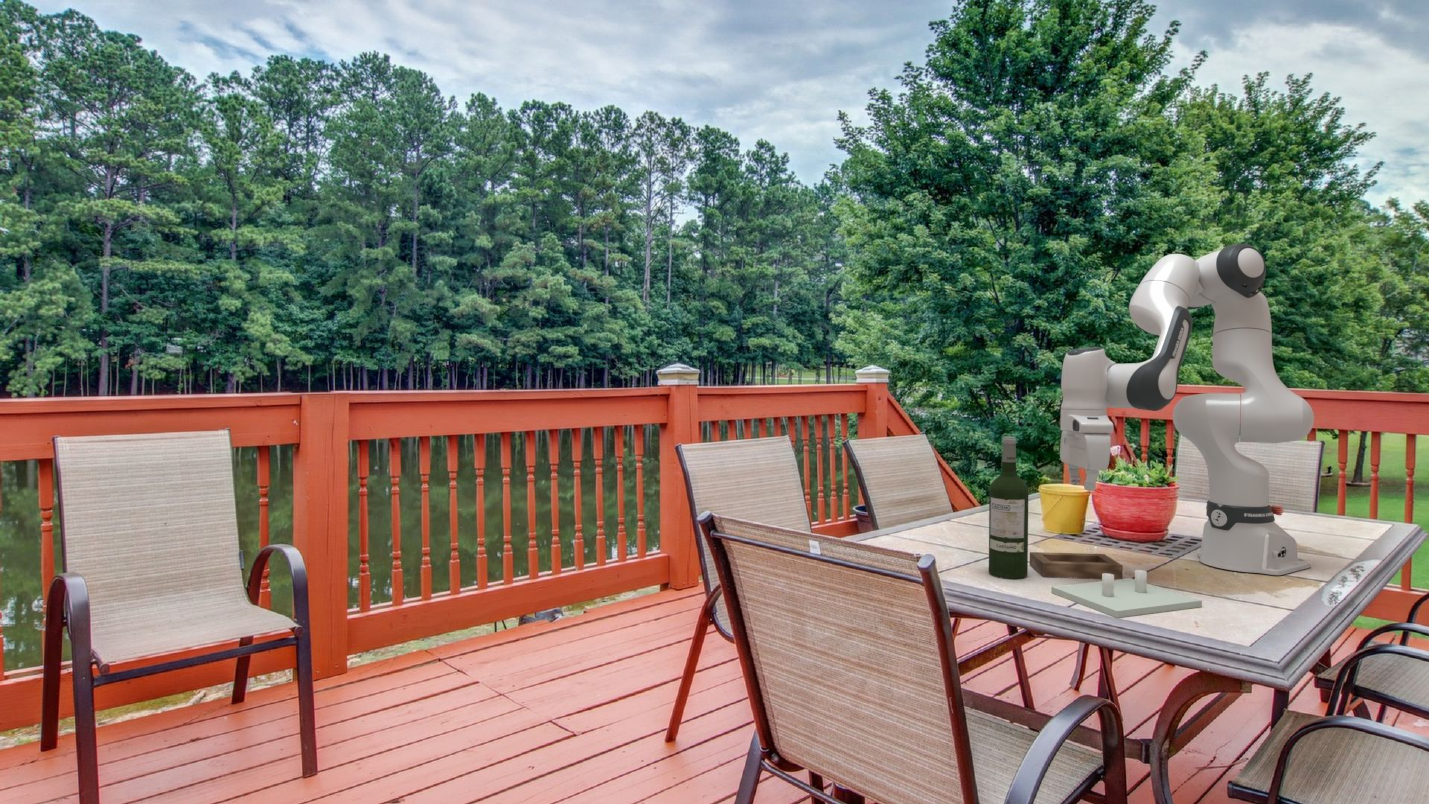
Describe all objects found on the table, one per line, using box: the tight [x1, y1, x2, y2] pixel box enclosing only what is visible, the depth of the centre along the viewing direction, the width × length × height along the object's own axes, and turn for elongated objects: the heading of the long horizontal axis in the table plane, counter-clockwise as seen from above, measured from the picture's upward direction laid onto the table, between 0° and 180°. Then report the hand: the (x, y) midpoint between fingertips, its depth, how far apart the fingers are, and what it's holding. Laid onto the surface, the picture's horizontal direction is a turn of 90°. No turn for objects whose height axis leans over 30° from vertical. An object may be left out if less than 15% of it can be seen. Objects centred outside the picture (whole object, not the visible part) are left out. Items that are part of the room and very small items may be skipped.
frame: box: [1029, 551, 1124, 580], centre depth 163 cm, size 16×10×3 cm, turn 82°
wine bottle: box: [988, 436, 1029, 580], centre depth 160 cm, size 8×8×30 cm
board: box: [1051, 569, 1203, 619], centre depth 143 cm, size 20×16×5 cm
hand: (1082, 487), depth 158 cm, fingers open, 8 cm apart
